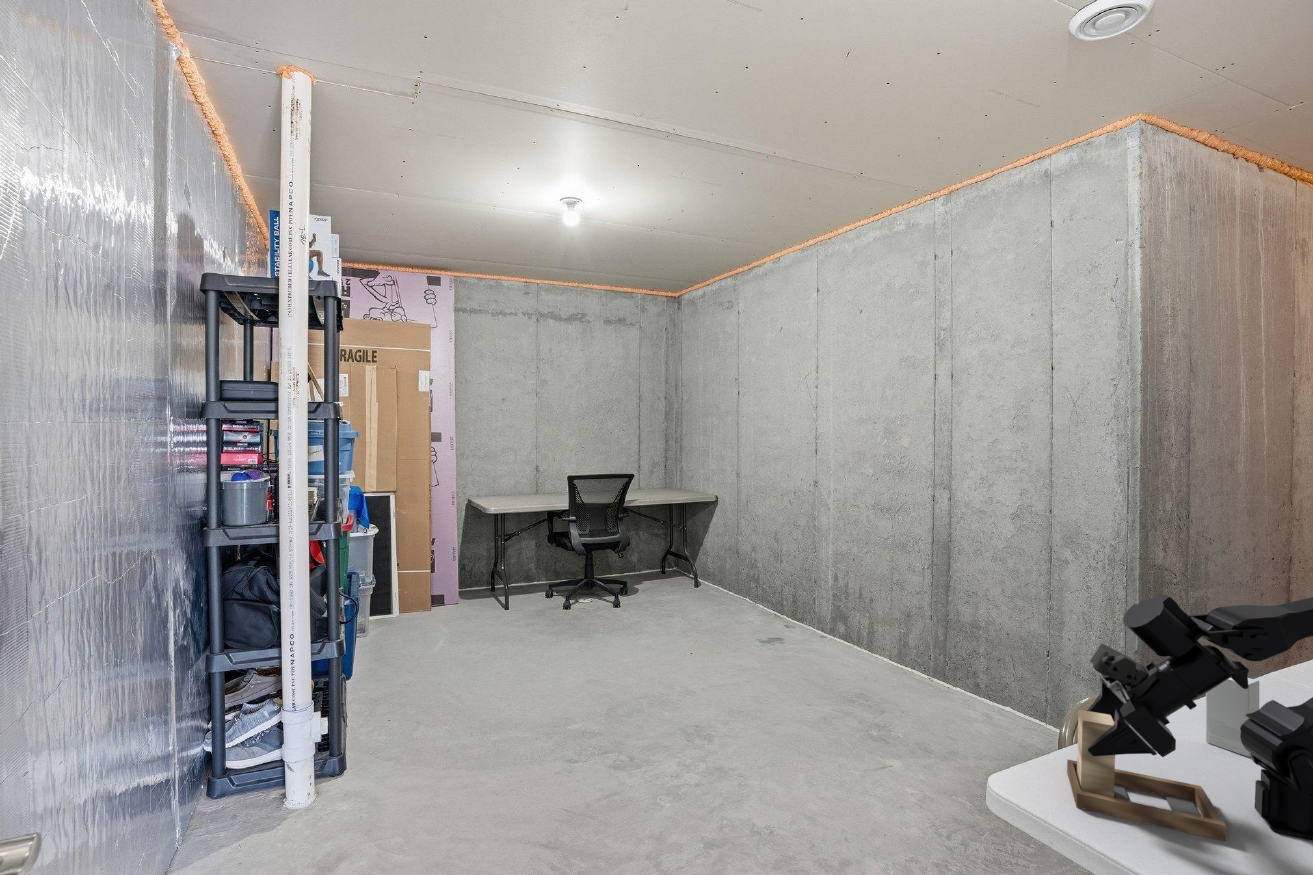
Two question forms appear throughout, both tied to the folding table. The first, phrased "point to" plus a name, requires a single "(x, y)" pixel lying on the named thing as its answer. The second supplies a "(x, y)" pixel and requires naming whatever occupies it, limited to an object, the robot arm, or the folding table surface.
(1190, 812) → the pads
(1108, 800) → the brown rectangular frame
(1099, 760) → the maple block
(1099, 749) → the robot arm
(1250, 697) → the skincare box
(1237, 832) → the folding table surface
